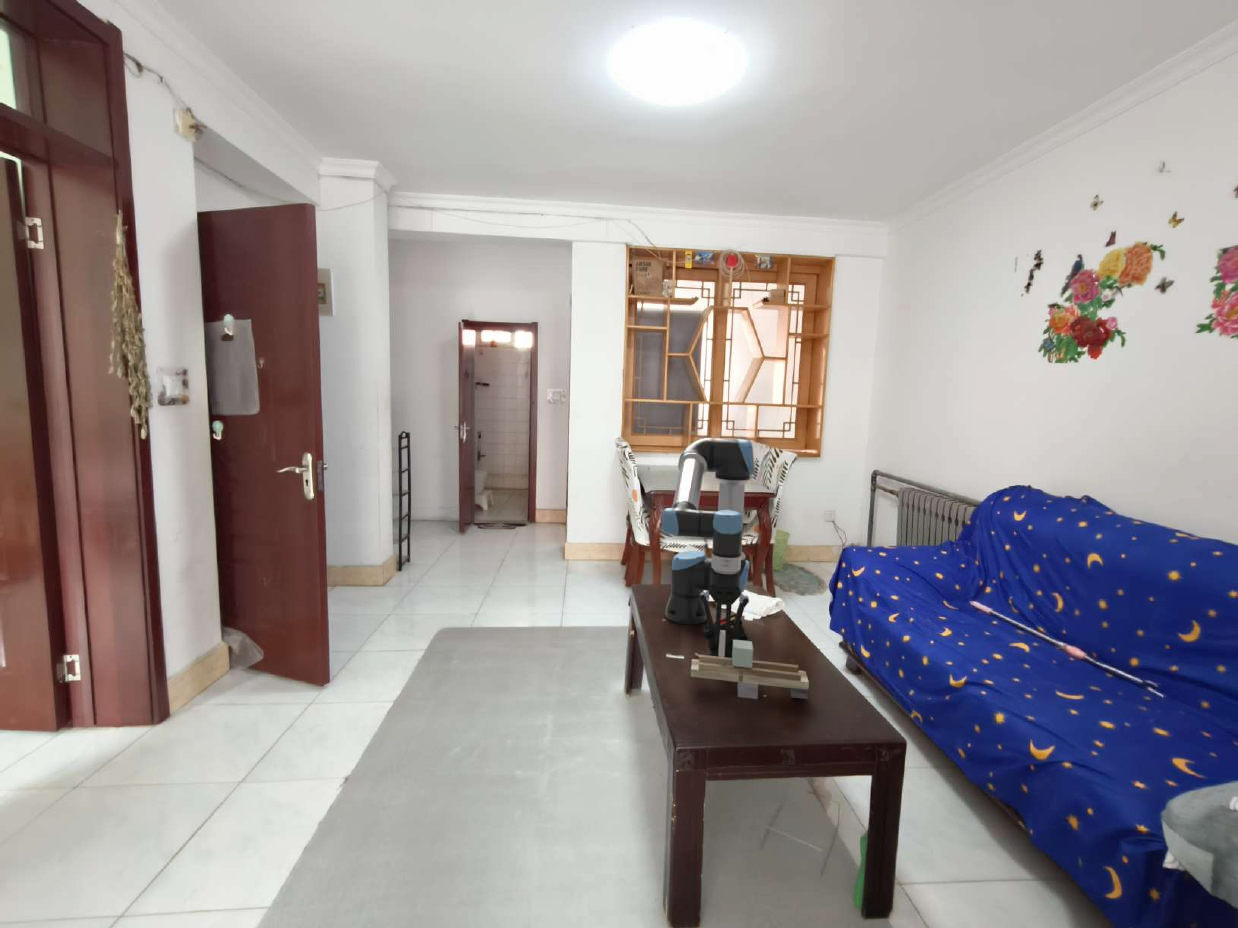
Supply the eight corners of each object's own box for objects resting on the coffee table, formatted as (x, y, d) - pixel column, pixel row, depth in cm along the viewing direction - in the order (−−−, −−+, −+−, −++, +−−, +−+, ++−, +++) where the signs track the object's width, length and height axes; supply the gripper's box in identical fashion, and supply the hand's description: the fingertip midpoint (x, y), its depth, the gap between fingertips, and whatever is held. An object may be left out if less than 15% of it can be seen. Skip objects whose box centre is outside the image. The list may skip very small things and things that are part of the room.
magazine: (759, 661, 158) (740, 617, 156) (718, 680, 158) (698, 635, 156) (756, 656, 162) (737, 612, 160) (715, 673, 162) (696, 630, 160)
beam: (691, 679, 151) (692, 653, 150) (803, 692, 145) (805, 665, 144) (689, 690, 144) (691, 663, 143) (807, 705, 139) (809, 676, 138)
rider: (731, 664, 147) (733, 639, 147) (750, 666, 146) (752, 641, 146) (732, 672, 142) (733, 647, 142) (751, 675, 142) (753, 649, 141)
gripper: (700, 572, 140) (696, 659, 143) (752, 576, 138) (747, 664, 140) (700, 563, 147) (697, 646, 150) (750, 567, 145) (745, 651, 148)
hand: (721, 655), depth 145 cm, fingers closed
